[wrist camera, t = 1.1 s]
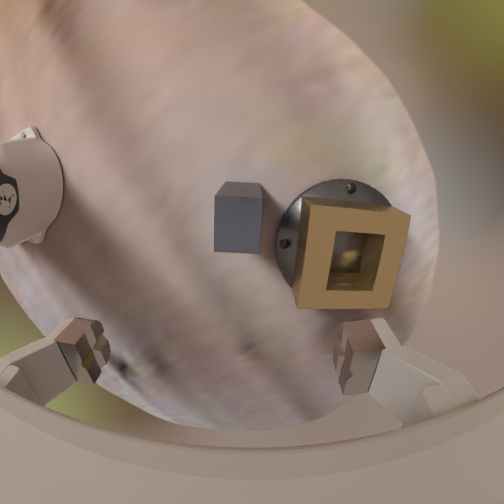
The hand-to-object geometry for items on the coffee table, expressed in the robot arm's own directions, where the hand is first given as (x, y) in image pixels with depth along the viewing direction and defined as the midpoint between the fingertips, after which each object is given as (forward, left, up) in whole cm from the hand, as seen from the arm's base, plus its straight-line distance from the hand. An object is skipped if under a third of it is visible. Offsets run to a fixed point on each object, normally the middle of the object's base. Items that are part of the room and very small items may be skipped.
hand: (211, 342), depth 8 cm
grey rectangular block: (0, -1, -26) cm, 26 cm away
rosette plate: (+13, -5, -26) cm, 29 cm away
